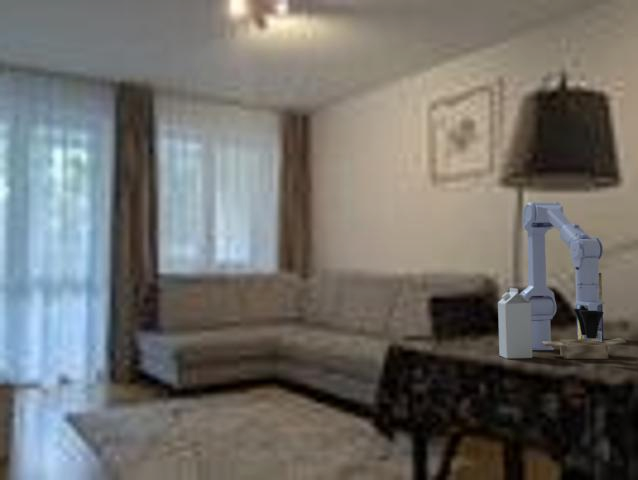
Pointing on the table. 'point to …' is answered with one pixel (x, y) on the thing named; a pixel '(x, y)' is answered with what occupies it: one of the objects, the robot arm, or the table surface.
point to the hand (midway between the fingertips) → (588, 336)
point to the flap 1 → (587, 344)
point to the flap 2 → (615, 341)
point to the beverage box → (600, 327)
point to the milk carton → (514, 326)
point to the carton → (579, 349)
